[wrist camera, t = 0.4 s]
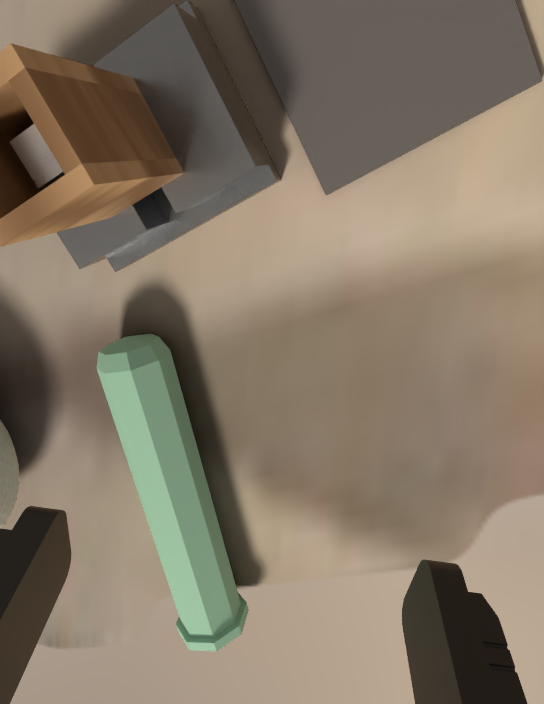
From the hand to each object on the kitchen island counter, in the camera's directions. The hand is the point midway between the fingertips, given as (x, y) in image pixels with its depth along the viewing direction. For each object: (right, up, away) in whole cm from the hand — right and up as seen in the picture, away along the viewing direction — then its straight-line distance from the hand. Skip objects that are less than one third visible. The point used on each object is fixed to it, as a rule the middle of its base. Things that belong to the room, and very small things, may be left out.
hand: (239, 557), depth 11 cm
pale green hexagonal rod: (-6, -5, +28) cm, 29 cm away
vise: (-8, +16, +20) cm, 27 cm away
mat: (+6, +21, +15) cm, 27 cm away
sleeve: (-7, +15, +15) cm, 22 cm away
